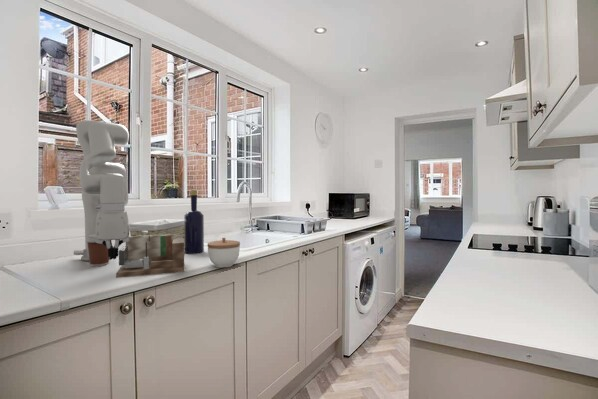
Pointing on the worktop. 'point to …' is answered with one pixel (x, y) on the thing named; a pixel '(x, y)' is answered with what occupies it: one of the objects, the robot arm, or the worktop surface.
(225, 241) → the lidded bowl
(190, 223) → the bottle
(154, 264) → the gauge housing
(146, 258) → the max needle
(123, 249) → the grey angle bracket
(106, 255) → the coffee cup
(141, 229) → the storage basket
